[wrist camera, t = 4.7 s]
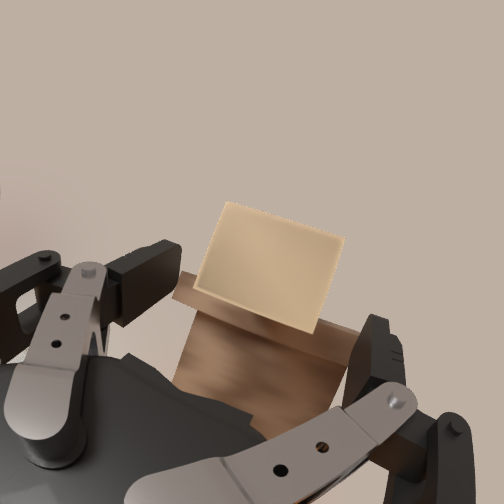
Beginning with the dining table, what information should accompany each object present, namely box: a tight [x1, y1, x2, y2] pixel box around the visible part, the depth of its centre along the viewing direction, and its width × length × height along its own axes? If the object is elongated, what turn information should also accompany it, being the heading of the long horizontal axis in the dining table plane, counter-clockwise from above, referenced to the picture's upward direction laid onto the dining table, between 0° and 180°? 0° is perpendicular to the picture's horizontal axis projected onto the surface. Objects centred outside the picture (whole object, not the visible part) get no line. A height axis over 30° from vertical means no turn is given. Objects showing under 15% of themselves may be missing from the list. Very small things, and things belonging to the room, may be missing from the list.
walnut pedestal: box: [172, 271, 360, 440], centre depth 22 cm, size 14×12×32 cm
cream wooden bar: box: [193, 201, 345, 334], centre depth 21 cm, size 4×24×3 cm, turn 167°
